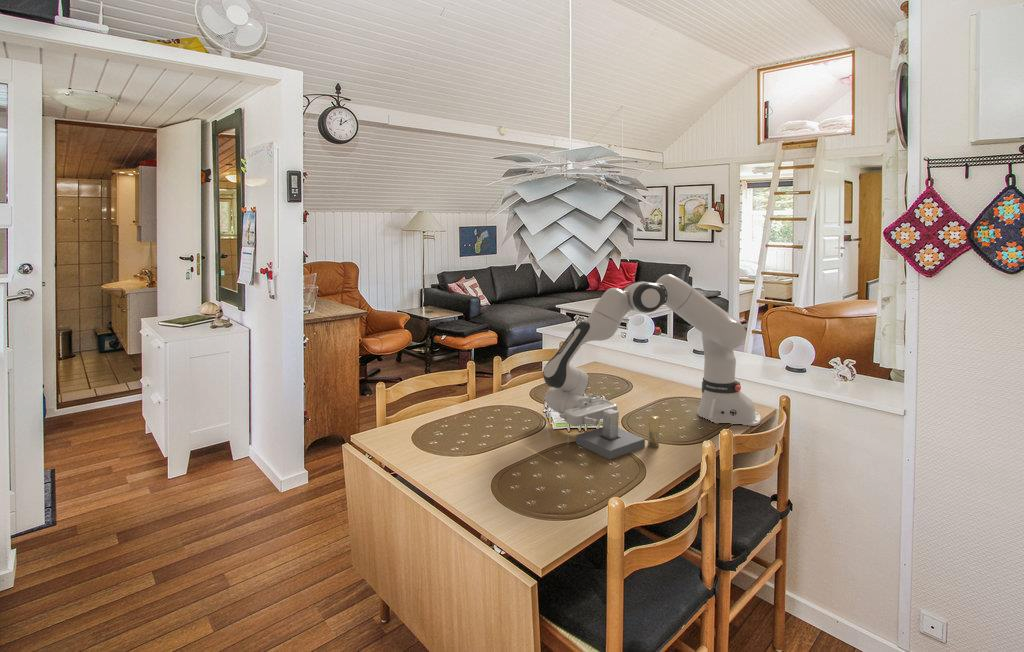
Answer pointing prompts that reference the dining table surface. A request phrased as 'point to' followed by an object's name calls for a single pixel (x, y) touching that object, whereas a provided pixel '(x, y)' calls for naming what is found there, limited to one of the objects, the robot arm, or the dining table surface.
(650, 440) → the round bit
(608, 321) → the robot arm
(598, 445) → the bore block
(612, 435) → the square bit
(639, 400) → the dining table surface
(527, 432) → the dining table surface
